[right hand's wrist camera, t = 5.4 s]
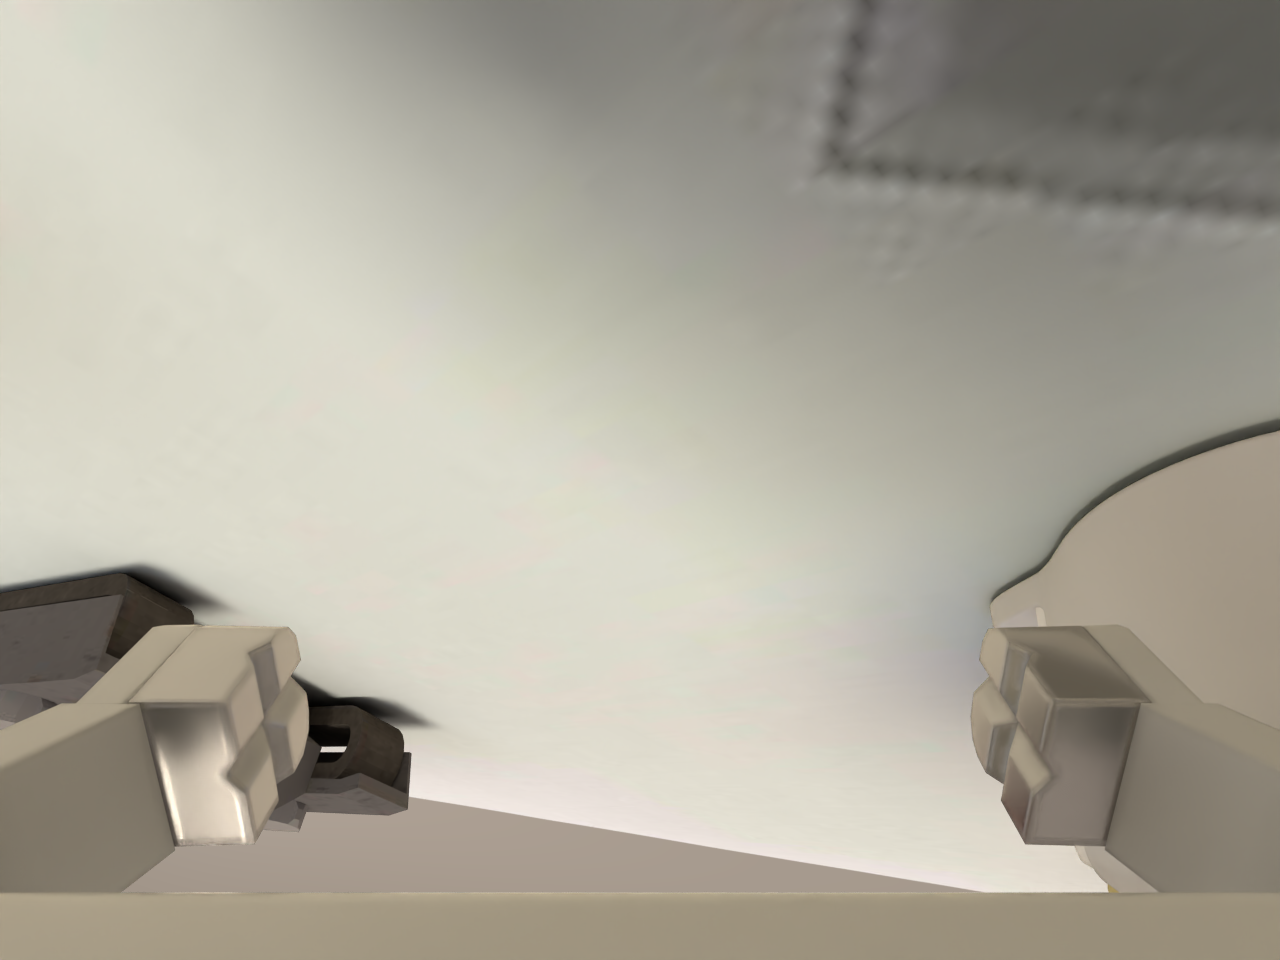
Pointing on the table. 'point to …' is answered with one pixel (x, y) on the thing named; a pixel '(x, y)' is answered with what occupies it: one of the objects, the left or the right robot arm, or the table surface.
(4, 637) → the toy
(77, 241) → the table surface
